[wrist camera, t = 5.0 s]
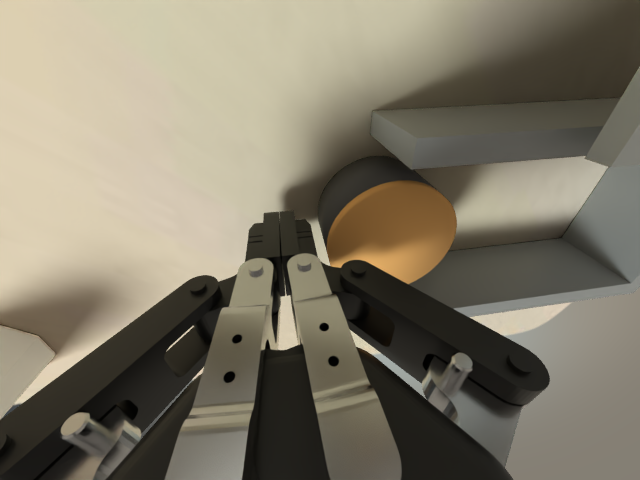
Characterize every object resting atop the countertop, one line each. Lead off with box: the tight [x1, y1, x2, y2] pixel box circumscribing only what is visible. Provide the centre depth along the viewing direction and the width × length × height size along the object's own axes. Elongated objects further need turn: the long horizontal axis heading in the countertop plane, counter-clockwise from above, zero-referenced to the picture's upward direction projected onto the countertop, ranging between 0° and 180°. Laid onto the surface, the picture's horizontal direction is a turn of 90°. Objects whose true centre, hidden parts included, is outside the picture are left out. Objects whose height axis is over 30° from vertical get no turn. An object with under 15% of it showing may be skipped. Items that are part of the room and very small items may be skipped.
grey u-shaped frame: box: [370, 98, 640, 317], centre depth 13 cm, size 10×16×5 cm, turn 91°
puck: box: [318, 156, 457, 284], centre depth 13 cm, size 6×6×4 cm
